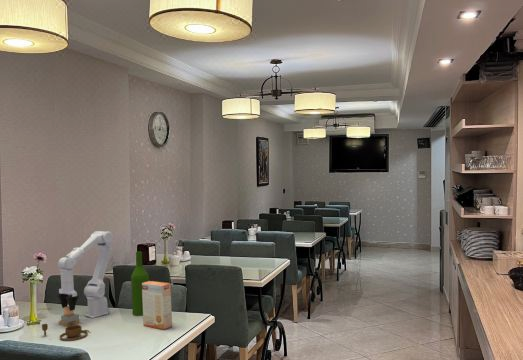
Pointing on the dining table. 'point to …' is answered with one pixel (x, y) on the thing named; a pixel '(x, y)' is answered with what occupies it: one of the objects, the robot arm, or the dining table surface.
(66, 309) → the terracotta cylinder
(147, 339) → the dining table surface
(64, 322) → the walnut block
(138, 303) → the wine bottle
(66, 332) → the place setting
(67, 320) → the slate block
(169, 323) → the cracker box
